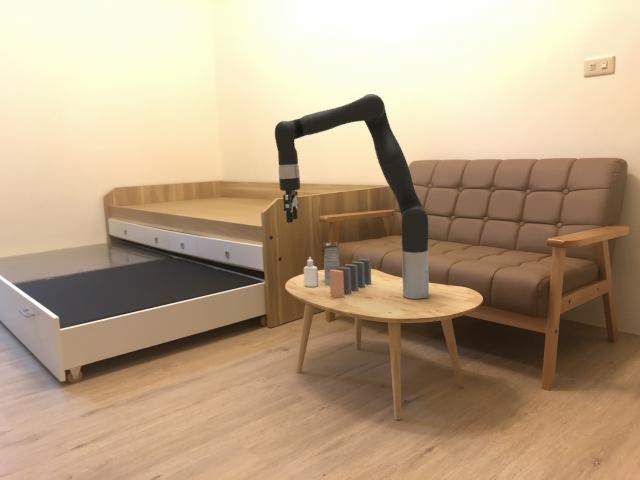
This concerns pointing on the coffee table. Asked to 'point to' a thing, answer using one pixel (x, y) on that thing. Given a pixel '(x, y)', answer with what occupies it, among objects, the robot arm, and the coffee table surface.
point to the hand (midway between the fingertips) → (292, 220)
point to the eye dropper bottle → (310, 274)
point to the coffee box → (330, 259)
